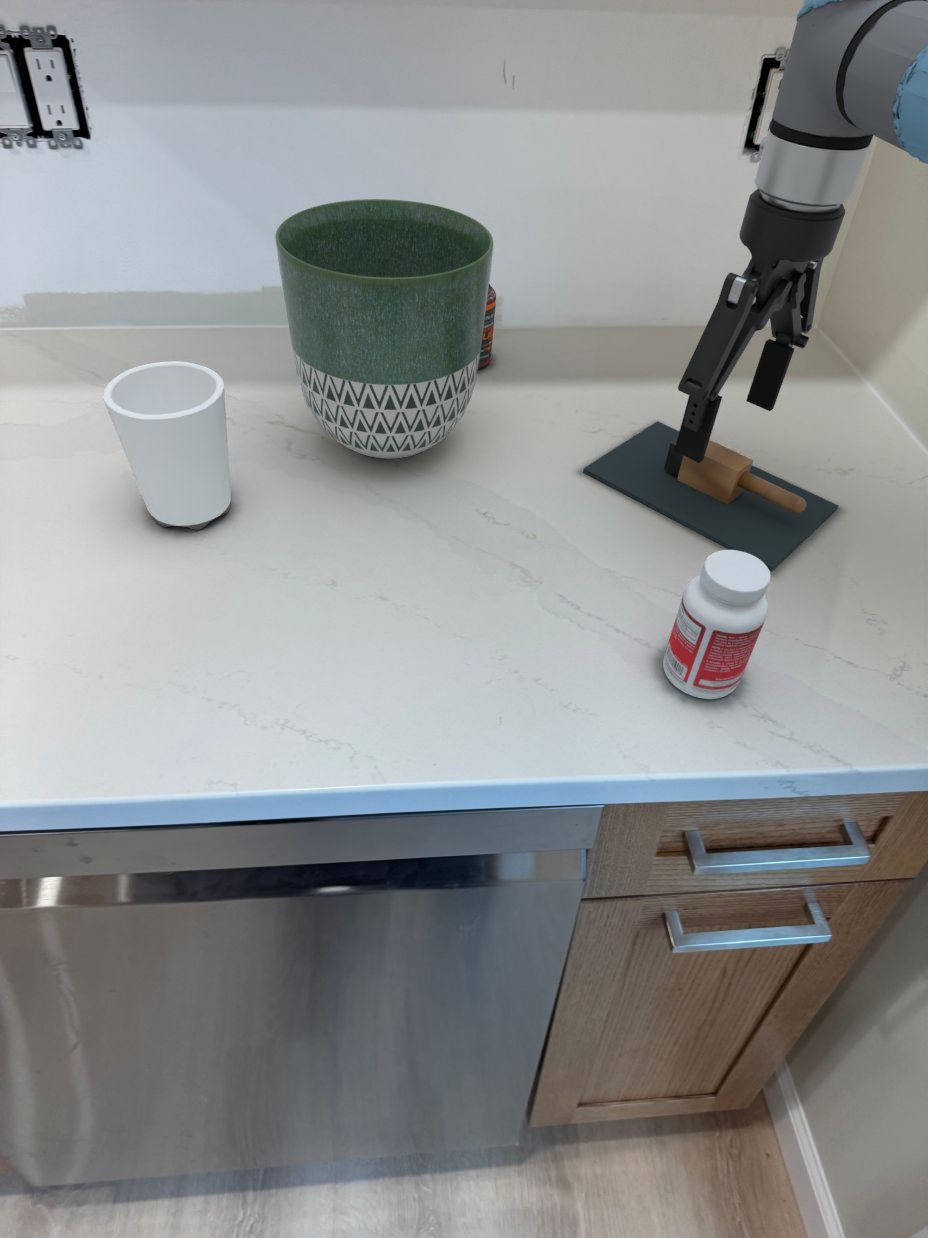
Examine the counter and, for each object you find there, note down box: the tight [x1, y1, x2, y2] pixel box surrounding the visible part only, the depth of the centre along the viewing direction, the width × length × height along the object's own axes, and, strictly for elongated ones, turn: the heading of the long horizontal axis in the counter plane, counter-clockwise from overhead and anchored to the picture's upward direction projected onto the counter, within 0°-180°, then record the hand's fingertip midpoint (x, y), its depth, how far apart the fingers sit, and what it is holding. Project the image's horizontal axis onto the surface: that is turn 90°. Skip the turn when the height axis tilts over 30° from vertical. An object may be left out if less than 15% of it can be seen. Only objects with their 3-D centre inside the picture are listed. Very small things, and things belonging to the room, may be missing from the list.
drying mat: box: [582, 420, 839, 572], centre depth 85 cm, size 22×14×1 cm, turn 47°
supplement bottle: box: [478, 280, 497, 370], centre depth 99 cm, size 6×6×11 cm
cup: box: [102, 360, 232, 531], centre depth 74 cm, size 10×10×13 cm
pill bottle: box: [662, 549, 772, 700], centre depth 63 cm, size 6×6×11 cm
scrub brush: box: [664, 438, 806, 513], centre depth 82 cm, size 15×3×4 cm, turn 47°
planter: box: [274, 198, 494, 460], centre depth 81 cm, size 20×20×21 cm
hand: (725, 429), depth 80 cm, fingers open, 13 cm apart
